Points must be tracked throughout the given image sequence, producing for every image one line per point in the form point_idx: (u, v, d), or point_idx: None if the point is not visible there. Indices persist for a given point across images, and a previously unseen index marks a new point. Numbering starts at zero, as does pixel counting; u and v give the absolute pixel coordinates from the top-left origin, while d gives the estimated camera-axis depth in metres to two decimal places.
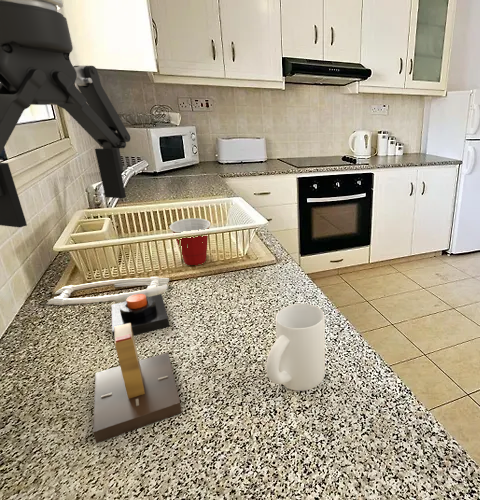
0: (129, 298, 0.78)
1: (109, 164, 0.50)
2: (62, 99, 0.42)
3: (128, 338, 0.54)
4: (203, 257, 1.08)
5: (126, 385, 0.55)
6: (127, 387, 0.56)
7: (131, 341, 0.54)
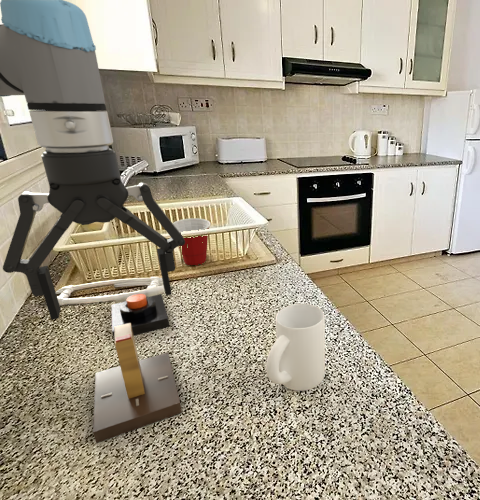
0: (129, 298, 0.78)
1: (160, 265, 0.54)
2: (107, 218, 0.48)
3: (128, 338, 0.54)
4: (203, 257, 1.08)
5: (126, 385, 0.55)
6: (127, 387, 0.56)
7: (131, 341, 0.54)
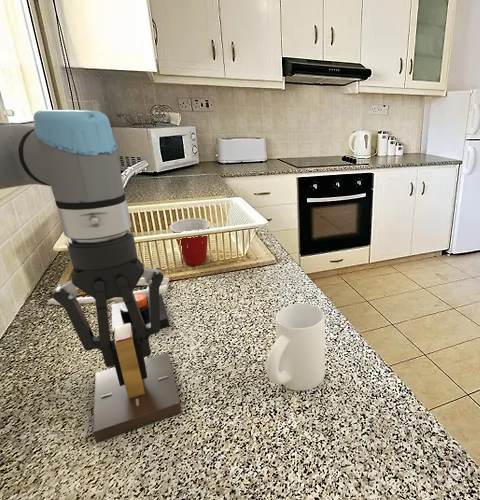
0: None
1: None
2: None
3: (128, 338, 0.54)
4: (203, 257, 1.08)
5: (126, 385, 0.55)
6: (127, 387, 0.56)
7: (131, 341, 0.54)
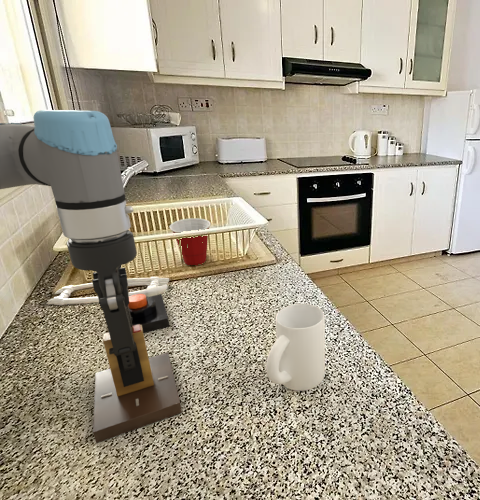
0: (129, 298, 0.78)
1: None
2: None
3: (140, 325, 0.57)
4: (203, 257, 1.08)
5: None
6: (151, 373, 0.58)
7: None
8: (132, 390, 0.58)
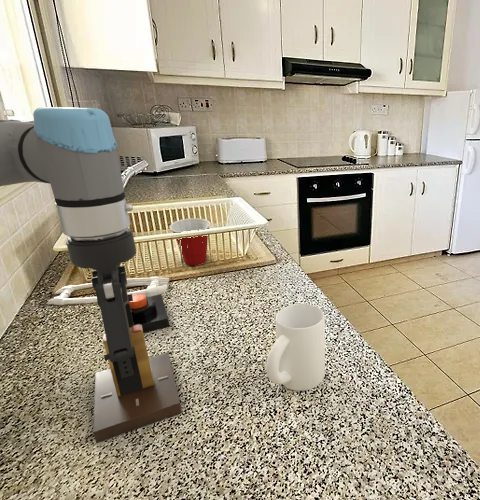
0: None
1: None
2: None
3: (140, 325, 0.57)
4: (203, 257, 1.08)
5: None
6: (151, 373, 0.58)
7: None
8: None
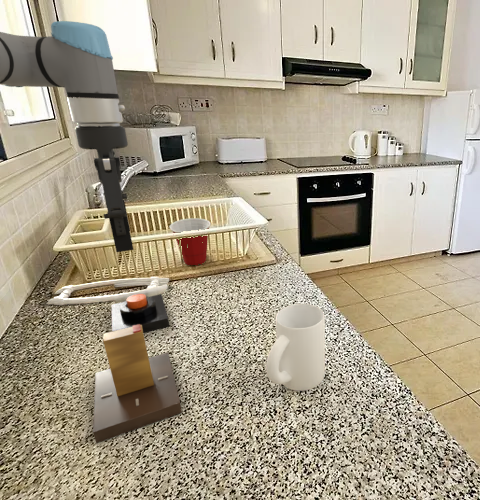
0: (129, 298, 0.78)
1: None
2: None
3: (140, 325, 0.57)
4: (203, 257, 1.08)
5: None
6: (151, 373, 0.58)
7: None
8: (132, 390, 0.58)
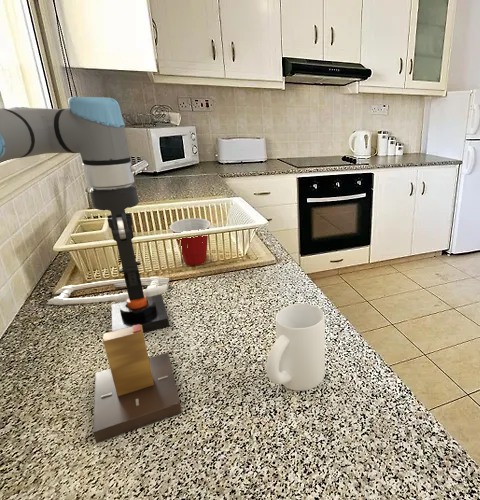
0: None
1: None
2: None
3: (140, 325, 0.57)
4: (203, 257, 1.08)
5: None
6: (151, 373, 0.58)
7: None
8: (132, 390, 0.58)
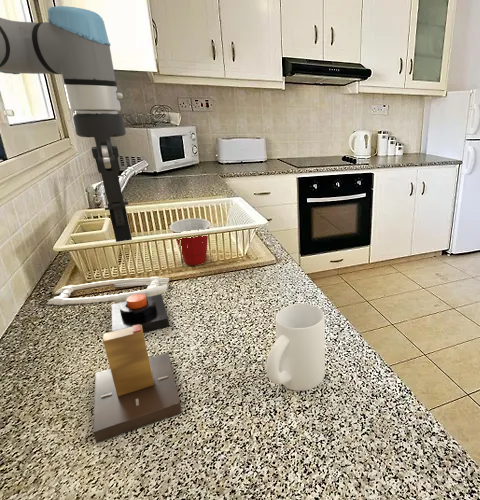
0: (129, 298, 0.78)
1: None
2: None
3: (140, 325, 0.57)
4: (203, 257, 1.08)
5: None
6: (151, 373, 0.58)
7: None
8: (132, 390, 0.58)
